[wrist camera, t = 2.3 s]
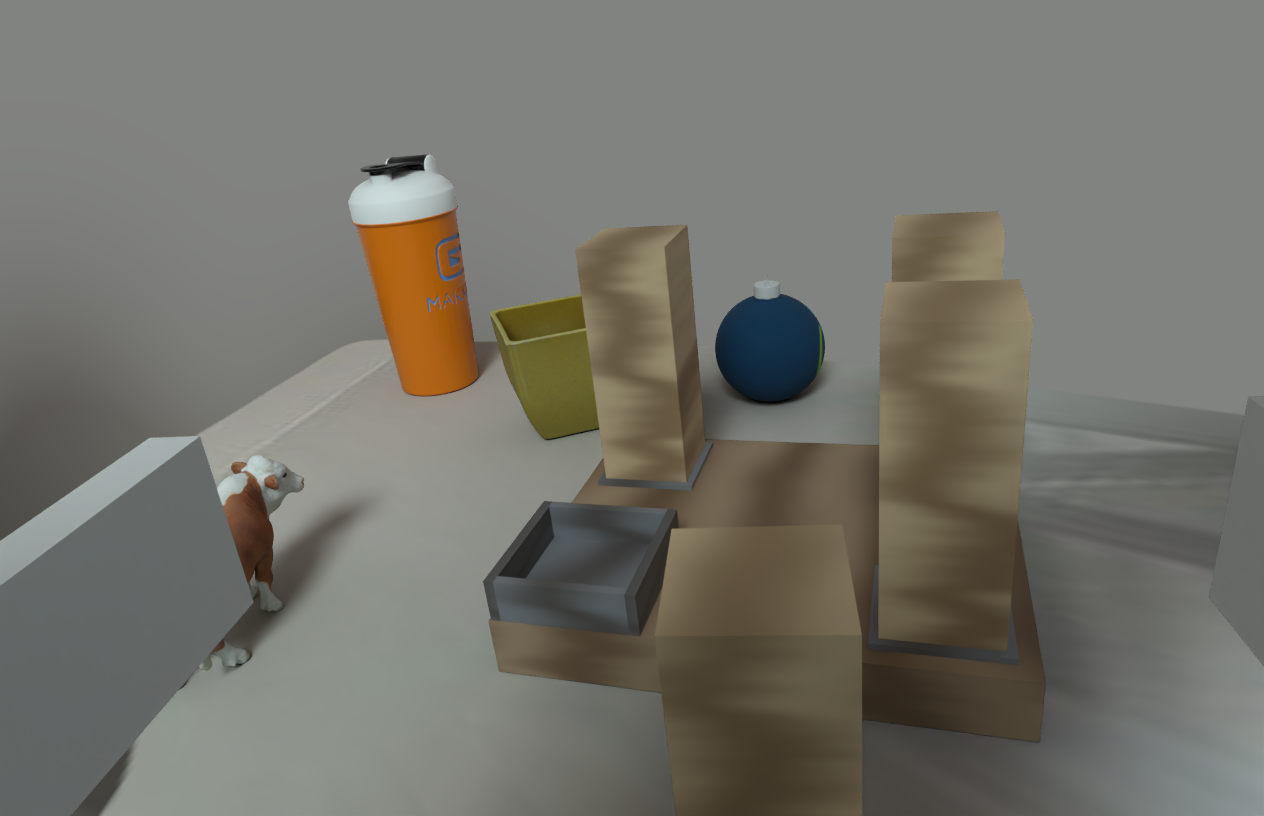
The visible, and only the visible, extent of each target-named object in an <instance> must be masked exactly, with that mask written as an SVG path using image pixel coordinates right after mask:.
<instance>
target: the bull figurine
mask: <svg viewBox="0 0 1264 816" xmlns="http://www.w3.org/2000/svg"><path fill="white" fill-rule="evenodd" d="M231 470H232V471H233V473H234V475H231V476H229V477H227V478H226V479H224V480H223V481H222V482H221V483H220V485H219V486H218V488H217V491H218V494H219V497H220V500H221V503H222V506H223V509H224V512H225V515H226V518H227V521H228V524H229V527H230V531H231V534H232V537H233V540H234V543H235V546H236V549H237V552H238V555H239V558H240V561H241V564H242V568H243V571H244V574H245V577H246V580H247V583H248V586H249V589H250V592H251V595H252V598H254V597H256V596H257V595H258V590H257V589H256V588H253V587H251V585H250V584H249V582H250V580H251V579H252V577H253V574H254V570H255V579H256V582H257V584H258V586H259V589H260V595H261V598H260V608H261V609H262V610H265V609H266V610H267V611H269V612H271V611H279V610H281V609H282V608H283V607H284V603H283V602H282V601H280V600H278V599H277V598H276V597H275V596H274V595H273V593H272V591H271V583H272V580H273V574H272V571H271V566H272V561H273V548H272V545H273V539H274V534H273V528H272V525H271V522H270V521H269V515H270V514H271V513H272V512H273V511H275V510H276V509H277V508H278V507H279V506H280V505H281V502H282V500H283V499H284V498H285V496H286V495H287V494H288V493H291V492H296V493H297V492H300V491H301V490H302V489H303V488H304V483H303V481H304V478H303V477H301V476H299V475H297V474H295V473H294V472H292V471H291V470H289V469H288V468H287V467H286V466H285V465H284V464H282V463H280V462H277V461H273V460H271V459H268V458H266V457H263V456H260V455H255V456H253V457H251V458H250V459H249V461H248V463H247V464H246V463H243V462H235V463H233V464H232V466H231ZM210 654H214V655H217V656H219V657H220V658H221V659H222V662H223V665H224V666H226V667H228V666H233V667H235V666H236V663H238V664H242V663H245V662H246V661H247V660H248V659H249V658H250V652H248V651H246V650H244V649H240V648H237V647H233V646H231V645H229V644H228V643H227V642H226V641H225V639H224V638H223V639H222V640H221V641H220V642H219V643H218V645H217V646H216V647H215V648H214V649H213V650H212V652H211V653H210ZM211 667H212V662H211V659H210V657H209V655H208V656H207V657H206V658H205V660H204V661H203V662H202V663H201V664H200V665H199V668H201V669H202V670H206V671H208V670H209V669H210V668H211ZM184 685H185V683H184V684H183V685H182V686H181V688H182V687H183V686H184Z"/></svg>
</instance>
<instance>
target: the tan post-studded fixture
mask: <svg viewBox="0 0 1264 816" xmlns="http://www.w3.org/2000/svg"><path fill="white" fill-rule="evenodd" d="M1004 243H1005V232H1004V229H1003V226H1002V223H1001V220H1000V217H999V214H998V212H997V211H993V212H970V213H948V214H926V215H901V216H896V217H895V224H894V231H893V237H892V282H886V285H885V292H884V299H883V306H882V312H881V319H880V426H879V446H878V445H850V444H822V443H794V442H766V441H738V440H710V439H705V433H704V421H703V409H702V397H701V385H700V373H699V361H698V349H697V337H696V325H695V312H694V300H693V290H692V276H691V264H690V252H689V240H688V228H687V225H675V226H674V225H672V226H649V227H629V228H628V227H627V228H605V229H604V230H602V231H601V232H599V233H598V234H597V235H595V236H594V237H592V238H591V239H590V240H588V241H587V242H586V243H584V244H583V245H581V246H580V247H578V248H577V249H576V250H575V252H576V259H577V267H578V274H579V281H580V288H581V296H582V303H583V311H584V318H585V326H586V333H587V340H588V348H589V355H590V362H591V370H592V377H593V385H594V392H595V399H596V407H597V414H598V421H599V429H600V436H601V443H602V451H603V459H602V460H601V462H600V463H599V465H598V466H597V468H596V469H595V470H594V472H593V473H592V475H591V476H590V478H589V479H588V480H587V482H586V483H585V485H584V486H583V487H582V489H581V490H580V492H579V493H578V495H577V496H576V497H575V499H574V500H573V502H572V503H564V502H548V501H544V502H543V503H542V505H541V506H540V507H539V509H538V510H537V511H536V513H535V514H534V515H533V516H532V518H531V519H530V520H529V522H528V523H527V524H526V526H525V527H524V528H523V530H522V531H521V532H520V534H519V535H518V536H517V538H516V539H515V540H514V541H513V543H512V544H511V545H510V547H509V548H508V549H507V551H506V552H505V553H504V555H503V556H502V557H501V559H500V560H499V561H498V563H497V564H496V565H495V566H494V568H493V569H492V570H491V572H490V573H489V574H488V576H487V577H486V578H485V580H484V581H483V583H484V588H485V592H486V597H487V602H488V607H489V611H490V616H491V618H490V620H489V626H490V631H491V635H492V640H493V645H494V649H495V654H496V659H497V664H498V668H499V671H500V672H508V673H515V674H523V675H531V676H538V677H546V678H553V679H561V680H569V681H576V682H584V683H592V684H599V685H607V686H614V687H622V688H630V689H637V690H645V691H653V692H660V693H661V684H660V676H659V668H658V659H657V651H656V643H655V631H656V625H657V619H658V612H659V606H660V599H661V593H662V587H663V580H664V574H665V568H666V561H667V555H668V548H669V542H670V536H671V529H682V528H721V527H761V526H800V525H839V524H842V526H843V532H844V538H845V543H846V549H847V554H848V560H849V566H850V571H851V577H852V582H853V588H854V594H855V599H856V605H857V611H858V616H859V622H860V627H861V633H862V719H866V720H874V721H881V722H889V723H897V724H904V725H912V726H920V727H927V728H935V729H942V730H950V731H958V732H965V733H973V734H981V735H988V736H996V737H1003V738H1011V739H1019V740H1026V741H1034V742H1040V734H1041V724H1042V714H1043V704H1044V695H1045V685H1046V682H1045V676H1044V671H1043V665H1042V659H1041V653H1040V647H1039V641H1038V636H1037V630H1036V624H1035V618H1034V612H1033V606H1032V601H1031V595H1030V589H1029V583H1028V577H1027V572H1026V566H1025V560H1024V554H1023V548H1022V542H1021V537H1020V531H1019V525H1018V507H1019V494H1020V482H1021V469H1022V456H1023V444H1024V431H1025V418H1026V406H1027V393H1028V380H1029V366H1030V355H1031V342H1032V329H1033V319H1032V316H1031V313H1030V310H1029V306H1028V304H1027V300H1026V297H1025V294H1024V291H1023V288H1022V285H1021V282H1020V280H1018V279H1017V280H1002V276H1003V259H1004Z"/></svg>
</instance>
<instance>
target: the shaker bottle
mask: <svg viewBox="0 0 1264 816" xmlns="http://www.w3.org/2000/svg"><path fill="white" fill-rule="evenodd" d="M361 171H362V172H369V175H370V176H371V179H369V180H367V181H365V182H363V183H362V184H360V185H359V186H358V187H356V188H355V189H354V190H353V192H352V194H351V197H350V199H349V201H348V204H349V208H350V213H351V217H352V222H353V224H354V225H356V226H357V230H358V233H359V237H360V241H361V244H362V248H363V251H364V255H365V258H366V262H367V265H368V269H369V272H370V276H371V279H372V283H373V286H374V290H375V293H376V297H377V301H378V304H379V308H380V311H381V315H382V318H383V322H384V325H385V329H386V332H387V336H388V339H389V343H390V346H391V350H392V354H393V357H394V361H395V364H396V368H397V371H398V375H399V378H400V382H401V385H402V388H403V390H404V391H405V392H406V393H408V394H411V395H416V396H433V395H440V394H446V393H450V392H454V391H457V390H460V389H462V388H464V387H466V386H468V385H470V384H472V383H473V382H474V381H475V380H476V379H477V378H478V375H479V374H478V366H477V359H476V352H475V345H474V338H473V332H472V325H471V317H470V310H469V304H468V296H467V289H466V282H465V275H464V268H463V261H462V253H461V247H460V239H459V233H458V225H457V218H456V211H455V210H456V209H457V207H458V206H457V203H456V197H455V192H454V187H453V185H452V184H450V182H449V181H448V180H447V179H446V178H445V177H443V176H441V175H439V174H438V169H437V163H436V161H435V159H434V157H433V156H432V155H416V156H404V157H392V158H389V159H387V161H386V163H385V164H380V165H371V166H366V167H363V168H361Z"/></svg>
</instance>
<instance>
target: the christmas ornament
mask: <svg viewBox="0 0 1264 816" xmlns="http://www.w3.org/2000/svg"><path fill="white" fill-rule="evenodd" d="M824 351H825V341H824V335H823V331H822V328H821V326H820V324H819V322H818V320H817V318H816V317H815V315H814V314H813V313H812V312H811V310H810V309H809V308H808V307H807V306H805V305H804V304H803V303H801V302H800V301H798V300H796V299H794V298H792V297H790V296H787V295H783V294H780V283H779V282H777V281H771V280H770V281H769V280H766V281H760V282H757V283H755V284H754V296H752V297H749V298H747V299H745V300H743V301H741V302H740V303H738V304H737V305H736V306H734V307H733V308H732V309H731V310H730V311H729V312H728V314H727V315H726V316H725V318H724V319H723V321H722V323H721V325H720V327H719V330H718V333H717V337H716V344H715V352H716V359H717V363H718V366H719V369H720V371H721V373H722V375H723V376H724V378H725V379H726V381H727V382H728V383H729V384H730V385H731V386H732V387H733V388H734V389H735V390H737V391H738V392H739V393H741V394H743V395H744V396H746V397H749V398H751V399H755V400H759V401H769V402H772V401H780V400H784V399H787V398H790V397H793V396H795V395H797V394H798V393H800V392H801V391H803V390H804V389H805V388H806V387H808V386H809V384H810V383H811V382H812V381H813V380H814V378H815V377H816V376H817V374H818V372H819V370H820V368H821V365H822V362H823V359H824V353H825V352H824Z"/></svg>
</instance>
